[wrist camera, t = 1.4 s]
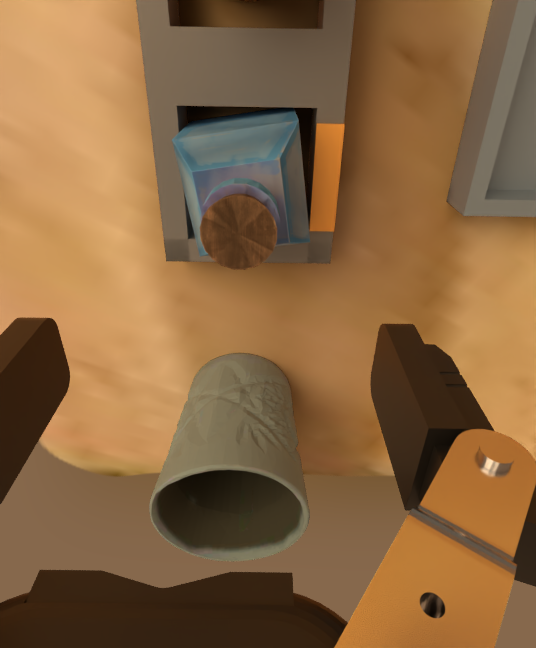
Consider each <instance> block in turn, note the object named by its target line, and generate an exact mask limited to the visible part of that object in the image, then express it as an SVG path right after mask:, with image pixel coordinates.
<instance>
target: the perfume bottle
mask: <svg viewBox="0 0 536 648" xmlns="http://www.w3.org/2000/svg"><path fill="white" fill-rule="evenodd" d="M172 142H173V147H174V151H175V155H176V159H177V163H178V168H179V172H180V176H181V180H182V184H183V188H184V193H185V197H186V201H187V205H188V209H189V214H190V218H191V222H192V226H193V230H194V234H195V239H196V243H197V247H198V251H199V255H200V256H208V255H209V256H210V257H211V258H212V259H213V260H214V261H216V262H217V263H219V264H220V265H222V266H224V267H228V268H231V269H244V270H245V269H249V268H252V267H256V266H258V265H259V264H261V263H262V262H264V261H265V260H266V259H267V258H268V257H269V256H270V254H271V253H272V252H273V250H274V247H277V246H285V245H292V244H300V243H308V242H310V236H309V225H308V215H307V204H306V194H305V183H304V172H303V162H302V151H301V141H300V130H299V120H298V118H297V115H296V113H295V110H294V108H293V107H280V108H274V109H267V110H261V111H254V112H248V113H241V114H235V115H228V116H222V117H215V118H209V119H202V120H196V121H191V122H190V123H189V124H187V125H186V126H185V127H184V128H183V129H182V130H181V131H180V132H179V133H178V134H177V135H176V136H175V137H174V138H173V139H172Z"/></svg>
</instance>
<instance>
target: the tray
mask: <svg viewBox="0 0 536 648" xmlns="http://www.w3.org/2000/svg"><path fill="white" fill-rule="evenodd" d="M447 202H448V203H449V204H450V205H451V206H453V207H454V208H455V209H456V210H457V211H458V212H460V213H461V214H462V215H463V216H505V217H536V0H493V1H492V6H491V10H490V14H489V19H488V23H487V27H486V32H485V36H484V40H483V45H482V49H481V53H480V58H479V62H478V67H477V71H476V75H475V80H474V84H473V88H472V93H471V97H470V101H469V106H468V110H467V114H466V119H465V123H464V127H463V132H462V136H461V140H460V145H459V149H458V153H457V158H456V162H455V166H454V171H453V175H452V179H451V184H450V188H449V192H448V197H447Z"/></svg>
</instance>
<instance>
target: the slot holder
mask: <svg viewBox="0 0 536 648" xmlns="http://www.w3.org/2000/svg"><path fill="white" fill-rule="evenodd" d="M136 3H137V12H138V21H139V29H140V38H141V46H142V55H143V64H144V72H145V81H146V90H147V98H148V107H149V115H150V124H151V133H152V141H153V150H154V158H155V167H156V176H157V184H158V193H159V202H160V210H161V219H162V227H163V236H164V245H165V253H166V261H191V262H216V261H214V260H213V259H212V258H211V257H210V256H209V255H208V256H200V255H199V251H198V247H197V243H196V239H195V234H194V230H193V226H192V222H191V218H190V214H189V209H188V205H187V201H186V197H185V193H184V188H183V184H182V180H181V176H180V172H179V168H178V163H177V159H176V155H175V151H174V147H173V142H172V139H173V138H174V137H175V136H176V135H177V134H178V133H179V132H180V131H181V130H182V129H183V128H184V127H185V126H186V125H187V113H186V106H233V107H293V108H312V120H311V136H310V153H309V169H308V185H307V202H306V204H307V215H308V225H309V236H310V242H308V243H300V244H292V245H285V246H277V247H274V250H273V252H272V253H271V254H270V256H269V257H268V258H267V259H266V260H265V261H264V262H262V263H329V264H330V261H331V251H332V241H333V232H334V228H335V218H336V208H337V198H338V188H339V177H340V167H341V157H342V147H343V137H344V127H345V124H344V118H345V107H346V97H347V87H348V77H349V66H350V56H351V46H352V35H353V25H354V15H355V5H356V0H319V6H318V22H317V29H289V28H233V27H180V20H179V6H178V0H136Z"/></svg>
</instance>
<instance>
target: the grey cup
mask: <svg viewBox="0 0 536 648" xmlns="http://www.w3.org/2000/svg"><path fill="white" fill-rule="evenodd" d="M292 405H293V403H292V395H291V389H290V385H289V382H288V380H287V378H286V376H285V375H284V373H283V372H282V371H281V370H280V369H279V368H278V367H277V366H276V365H275V364H274V363H272V362H271V361H269V360H267V359H265V358H263V357H260V356H257V355H252V354H246V353H233V354H227V355H223V356H220V357H217V358H215V359H213V360H211V361H210V362H208V363H207V364H206V365H204V366H203V367H202V368H201V369H200V370H199V372H198V373H197V374H196V376H195V378H194V380H193V382H192V385H191V388H190V391H189V394H188V401H187V402H186V403H185V405H184V409H183V411H182V414H181V417H180V420H179V422H178V425H177V426H178V427H177V431H176V433H175V434H174V437H173V441H172V443H171V447H170V450H169V454H168V456H167V459H166V460H165V463H164V465H163V468H162V471H161V473H160V476H159V479H158V481H157V483H156V486H155V488H154V491H153V494H152V497H151V500H150V508H149V509H150V517H151V521H152V523H153V525H154V527H155V529H156V530H157V531H158V533H159V534H160V535H161V536H162V537H163V538H164V539H165V540H166V541H167V542H169V543H170V544H172V545H173V546H175V547H177V548H179V549H181V550H183V551H185V552H187V553H189V554H192V555H195V556H198V557H202V558H207V559H212V560H218V561H246V560H253V559H259V558H264V557H267V556H270V555H273V554H276V553H279V552H281V551H283V550H285V549H287V548H288V547H290V546H291V545H292V544H294V543H295V542H296V541H297V540H298V539H299V538H300V537H301V536H302V535H303V533H304V532H305V530H306V528H307V526H308V523H309V518H310V515H309V506H308V500H307V495H306V489H305V484H304V479H303V472H302V466H301V459H300V455H299V453H298V452H297V450H296V447H297V445H298V439H297V431H296V426H295V419H294V417H293V416H294V415H293V409H292Z"/></svg>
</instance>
